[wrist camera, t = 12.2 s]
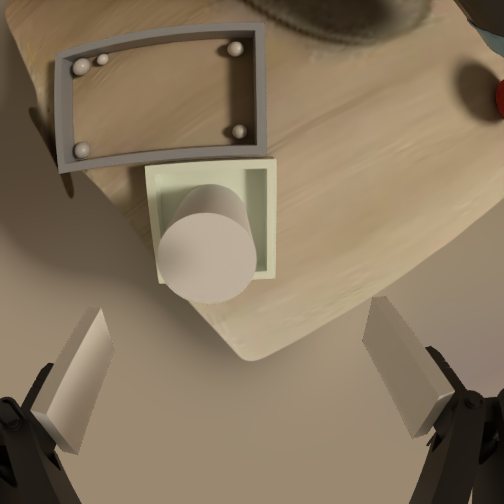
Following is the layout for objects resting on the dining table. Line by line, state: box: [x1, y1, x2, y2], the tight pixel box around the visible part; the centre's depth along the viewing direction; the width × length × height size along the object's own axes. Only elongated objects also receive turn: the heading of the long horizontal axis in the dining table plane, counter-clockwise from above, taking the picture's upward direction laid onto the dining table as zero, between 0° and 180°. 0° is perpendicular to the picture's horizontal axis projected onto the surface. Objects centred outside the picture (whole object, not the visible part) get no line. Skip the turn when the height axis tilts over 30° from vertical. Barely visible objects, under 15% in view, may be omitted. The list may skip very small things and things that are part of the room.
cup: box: [157, 184, 257, 304], centre depth 30 cm, size 8×8×12 cm
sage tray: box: [145, 157, 276, 283], centre depth 35 cm, size 14×14×3 cm
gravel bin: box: [54, 22, 267, 174], centre depth 29 cm, size 15×24×3 cm, turn 91°
